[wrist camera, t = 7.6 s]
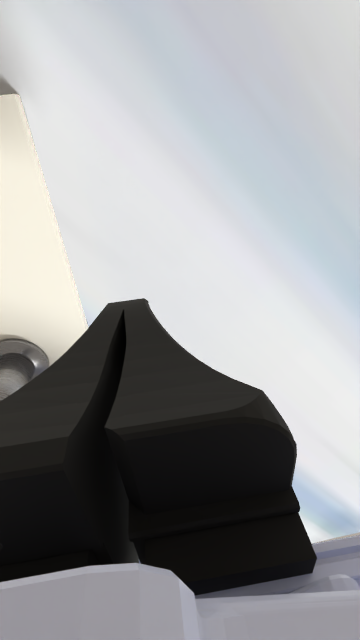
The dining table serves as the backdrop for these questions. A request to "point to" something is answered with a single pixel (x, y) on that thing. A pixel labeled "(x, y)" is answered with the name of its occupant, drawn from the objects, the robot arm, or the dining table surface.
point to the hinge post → (19, 364)
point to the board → (32, 247)
